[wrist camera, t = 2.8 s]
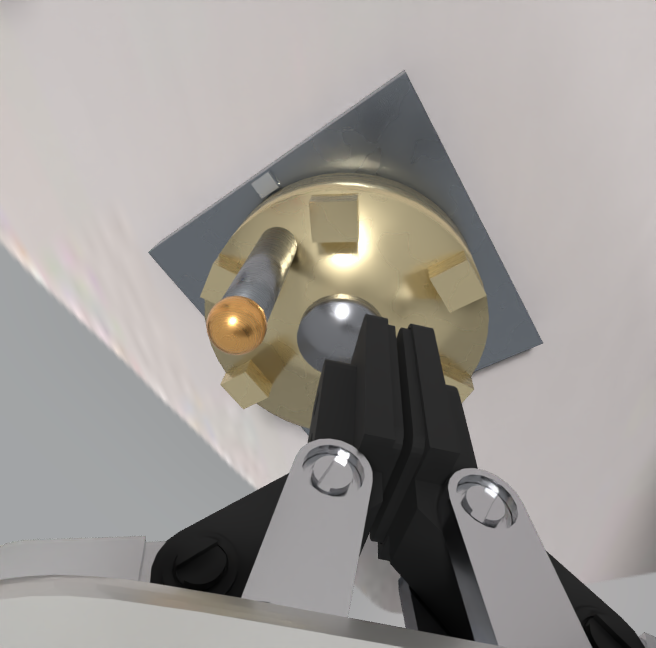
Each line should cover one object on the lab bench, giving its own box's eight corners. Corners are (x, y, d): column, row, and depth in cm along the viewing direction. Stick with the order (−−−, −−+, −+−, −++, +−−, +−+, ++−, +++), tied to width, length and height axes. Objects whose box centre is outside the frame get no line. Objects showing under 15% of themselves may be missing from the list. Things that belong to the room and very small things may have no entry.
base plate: (535, 328, 26) (545, 347, 24) (314, 421, 31) (310, 442, 29) (404, 70, 20) (406, 72, 18) (160, 241, 25) (144, 255, 24)
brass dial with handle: (518, 340, 24) (595, 512, 15) (314, 426, 29) (284, 594, 20) (395, 110, 19) (406, 172, 10) (172, 260, 24) (49, 390, 15)
